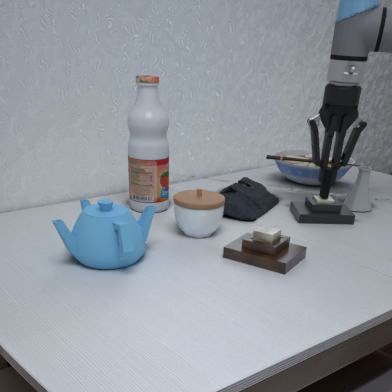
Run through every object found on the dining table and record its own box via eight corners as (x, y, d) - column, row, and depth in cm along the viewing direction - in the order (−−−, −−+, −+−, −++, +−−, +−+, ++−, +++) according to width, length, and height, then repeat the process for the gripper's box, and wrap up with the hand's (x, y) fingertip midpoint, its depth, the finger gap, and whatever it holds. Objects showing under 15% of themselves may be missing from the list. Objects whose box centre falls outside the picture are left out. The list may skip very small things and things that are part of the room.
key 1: (280, 239, 97) (281, 229, 95) (271, 245, 94) (272, 235, 93) (261, 234, 98) (262, 224, 97) (252, 240, 95) (253, 230, 94)
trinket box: (225, 242, 104) (229, 196, 99) (174, 241, 103) (174, 195, 98) (219, 224, 113) (222, 182, 108) (172, 224, 112) (172, 181, 107)
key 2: (328, 204, 121) (330, 195, 120) (333, 209, 117) (334, 200, 116) (312, 203, 121) (313, 195, 119) (316, 209, 117) (317, 200, 116)
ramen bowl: (352, 178, 152) (358, 150, 148) (354, 199, 134) (361, 168, 129) (270, 170, 157) (273, 143, 152) (261, 190, 138) (264, 159, 133)
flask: (363, 203, 131) (372, 163, 126) (376, 212, 125) (386, 171, 120) (337, 204, 130) (345, 163, 124) (349, 213, 124) (358, 171, 118)
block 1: (305, 257, 99) (308, 238, 97) (284, 274, 92) (287, 254, 89) (246, 242, 104) (248, 223, 102) (222, 257, 97) (224, 237, 95)
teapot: (52, 267, 90) (44, 208, 84) (85, 238, 103) (80, 185, 97) (133, 278, 88) (131, 218, 82) (157, 247, 100) (157, 193, 94)
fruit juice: (126, 202, 124) (122, 73, 109) (164, 200, 126) (164, 74, 111) (133, 214, 116) (128, 77, 101) (172, 212, 119) (174, 78, 103)
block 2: (341, 211, 125) (344, 194, 123) (353, 224, 117) (357, 207, 114) (289, 209, 124) (291, 193, 122) (298, 223, 116) (301, 206, 114)
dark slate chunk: (192, 212, 119) (192, 192, 117) (227, 191, 136) (229, 173, 133) (252, 224, 114) (255, 203, 111) (282, 200, 131) (284, 181, 128)
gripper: (317, 84, 101) (299, 200, 114) (380, 87, 102) (355, 202, 115) (309, 80, 108) (292, 191, 120) (368, 83, 108) (346, 193, 121)
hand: (323, 196), depth 118 cm, fingers closed
